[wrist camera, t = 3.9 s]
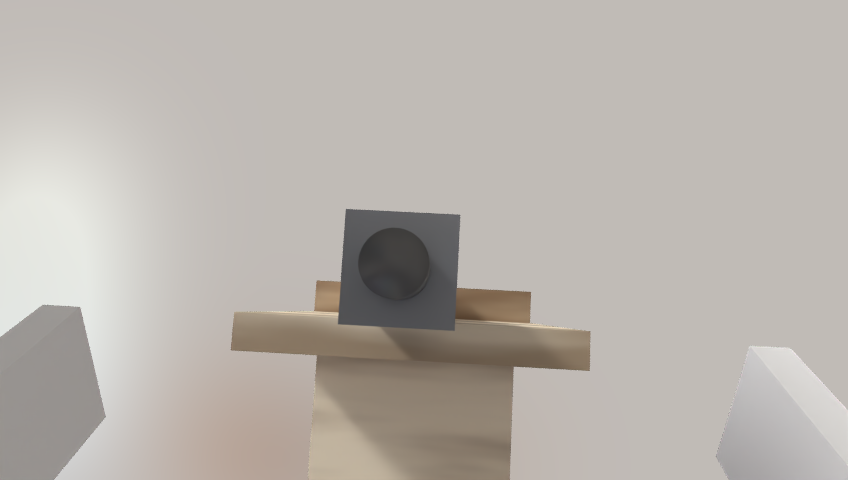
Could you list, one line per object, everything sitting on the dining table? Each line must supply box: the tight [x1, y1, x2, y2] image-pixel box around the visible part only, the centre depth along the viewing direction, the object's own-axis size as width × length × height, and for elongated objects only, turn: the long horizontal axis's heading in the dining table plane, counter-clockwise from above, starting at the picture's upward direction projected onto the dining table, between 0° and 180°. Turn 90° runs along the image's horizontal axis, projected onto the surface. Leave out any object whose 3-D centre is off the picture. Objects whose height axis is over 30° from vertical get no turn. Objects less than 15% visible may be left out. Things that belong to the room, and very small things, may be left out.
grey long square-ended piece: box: [338, 209, 460, 331], centre depth 25 cm, size 24×3×3 cm, turn 179°
